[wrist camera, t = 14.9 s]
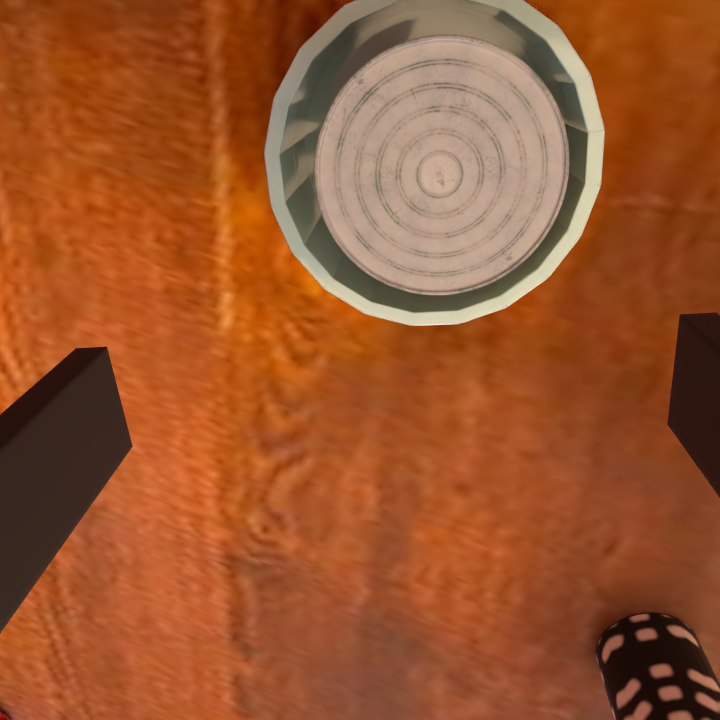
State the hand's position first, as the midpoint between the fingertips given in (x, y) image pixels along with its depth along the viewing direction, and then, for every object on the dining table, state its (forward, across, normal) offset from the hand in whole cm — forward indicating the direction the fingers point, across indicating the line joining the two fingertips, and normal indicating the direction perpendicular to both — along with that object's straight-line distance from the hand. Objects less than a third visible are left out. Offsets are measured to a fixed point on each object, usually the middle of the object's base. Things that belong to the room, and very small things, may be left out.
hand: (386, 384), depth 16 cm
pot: (+29, +2, +2) cm, 30 cm away
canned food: (+29, +2, +2) cm, 29 cm away
